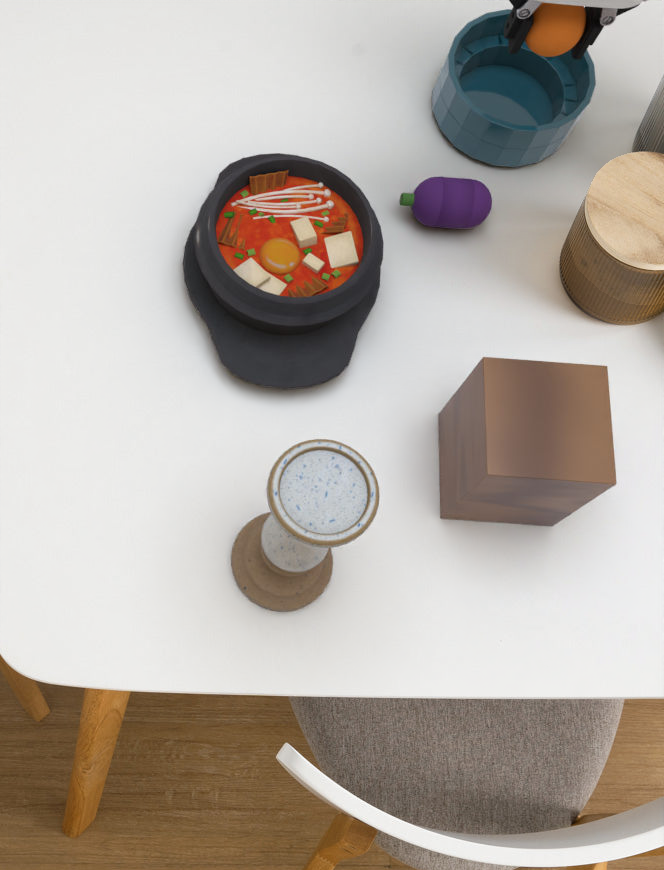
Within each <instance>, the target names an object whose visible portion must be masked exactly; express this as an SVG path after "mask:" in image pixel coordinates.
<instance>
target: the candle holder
mask: <svg viewBox="0 0 664 870" xmlns="http://www.w3.org/2000/svg"><path fill="white" fill-rule="evenodd" d="M266 500H267V505H268V509H269V511H268V512H265V513H262V514H260V515H258V516H256V517H254V518H253V519H251V520H249V521H248V522H247V523H246V524H245V525H244V526H243V527H242V528H241V530H240V531H239V532H238V534H237V536H236V537H235V540H234V542H233V545H232V549H231V553H230V565H231V573H232V575H233V578H234V581H235V582H236V584H237V586H238V588H239V590H240V591H241V592H242V593H243V595H245V597H247V598H248V599H249V600H250V601H252V602H253V603H254V604H256V605H258V606H260V607H262V608H264V609H266V610H269V611H276V612H293V611H297V610H300V609H302V608H305V607H307V606H309V605H311V604H312V603H313V602H315V601H316V600H317V599H318V598H320V596H321V595H322V594H323V593H324V592H325V590H326V589H327V587H328V585H329V582H330V581H331V577H332V574H333V569H334V557H333V551H332V548H337V547H338V548H339V547H341V546H345V545H347V544H350V543H351V542H354V541H356V540H357V539H358V538H360V537H361V536H362V535H363V534H364V533H366V531H367V530H368V529H369V527H370V526H371V525H372V523H373V522H374V520H375V517H376V515H377V513H378V509H379V505H380V486H379V482H378V479H377V476H376V474H375V471H374V469H373V468H372V466H371V464H370V463H369V462H368V461H367V460H366V458H365V457H364V456H363V455H362V454H360V453H359V452H358V451H357V450H356V449H355V448H352V447H351V446H349V445H348V444H345V443H343V442H340V441H338V440H332V439H326V438H315V439H309V440H304V441H301V442H299V443H297V444H295V445H292V446H291V447H289V448H288V449H287V450H285V451H284V452H283V453H282V454H281V455H280V456H279V457H278V458H277V459H276V461H275V462H274V463H273V465H272V468H271V469H270V471H269V474H268V477H267V482H266Z"/></svg>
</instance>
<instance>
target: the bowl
mask: <svg viewBox="0 0 664 870" xmlns="http://www.w3.org/2000/svg"><path fill="white" fill-rule="evenodd" d="M511 10H512V8H511V9H510V8H506V9H499V10H495V11H490V12H485V13H484V14H482V15H480V16H478V17H476V18H474V19H472V20H470V21H469V22H467V23H466V24H465V25H464V26H463V27H462V28H461V29H460V31H459V32H457V34H456V35H455V36H454V38H453V40H452V43H451V45H450V47H449V50H448V52H447V55H446V57H445V58H444V59H445V60H444V62H443V63H442V67H441V68H440V71H439V74H438V76H437V79H436V81H435V84H434V85H433V86H434V87H433V89H432V91H431V92H432V93H431V94H432V96H431V97H432V99H431V101H432V113H433V115H434V118H435V121H436V122H437V126H438V128H439V130H440V131H441V132H442V133H443V135H444V136H445V137H446V139H448V141H449V142H450V143H451V144H452V146H453V147H454V148H456V149H458V150H459V151H461V152H462V153H463V154H465V155H466V156H468V157H470V158H472V159H474V160H477V161H480V162H483V163H486V164H488V165H492V166H496V167H498V166H499V167H511V168H516V167H517V168H518V167H523V166H528V165H532V164H537V163H539V162H540V161H542V160H544V159H546V158H548V157H550V156H551V155H553V154H554V153H556V152H557V151H558V149H559V148H560V147H561V146H562V145H563V143H564V142H565V141H566V140H567V138H568V137H569V136H570V134H571V132H572V131H573V129H574V128H575V126H576V125H577V123H578V121H579V120H580V119H581V117H582V116H583V114H584V113H585V111H586V109H587V108H588V106H589V105H590V103H591V101H592V98H593V94H594V91H595V88H596V85H597V82H596V81H597V80H596V69H595V68H596V67H595V63H594V62H593V59H592V57H591V55H590V53H589V51H588V49H587V50H586V51H585V53H584V55H583V56H582V58H581V59H580V60H577V59H574V58H573V57H572V52H571V49H570V50H569V51H567V52H565V53H563V54H561V55H558V56H554V57H545V56H540V55H538V54H536V53H534V52H533V51H532V50H531V49H530V48H529V47H528V46H527V44H526V42H525V40H524V42H523V44H522V46H521V48H520V50H519V52H518V53H516V54H509V49H508V39H506V38H504V26H505V23H506V21H507V19H508V17H509V15H510V13H511Z"/></svg>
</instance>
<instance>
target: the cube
mask: <svg viewBox="0 0 664 870" xmlns="http://www.w3.org/2000/svg"><path fill="white" fill-rule="evenodd" d="M608 369H609V368H608V365H602V364H601V365H600V364H587V363H572V362H560V361H559V362H558V361H544V360H531V359H529V360H528V359H519V358H518V359H517V358H505V357H491V356H483V357H482V358H481V359H480V360H479V361H478V363H477V364H476V366H475V367H474V368H473V369H472V371H471V372H470V373H469V374H468V376H467V377H466V378H465V379H464V381H463V382H462V383H461V385H460V386H459V387H458V388H457V389H456V391H455V392H454V393H453V394H452V396H451V397H450V398H449V400H448V401H447V402H446V404H445V405H444V406H443V407H442V409H441V410H440V412H438V414H437V417H438V418H437V423H438V463H439V464H438V467H439V468H438V470H439V471H438V472H439V515H440V517H439V518H440V519H442V520H443V519H445V520H457V521H471V522H484V523H499V524H512V525H513V524H515V525H525V526H526V525H527V526H539V527H540V526H541V527H542V526H543V527H554V526H555V525H557V524H558V523H560V522H562V521H563V520H564V519H566V518H567V517H569V516H571V515H572V514H573V513H575V512H576V511H578V510H580V509H581V508H583V507H584V506H585V505H587V504H589V503H590V502H591V501H593V500H595V499H596V498H598V497H599V496H601V495H602V494H605V492H607V491H608V490H610V489H612V488H613V487H614V486H616V485H617V484H618V483H617V472H616V471H617V470H616V458H615V447H614V446H615V444H614V434H613V421H612V409H611V395H610V394H611V393H610V381H609V371H608Z"/></svg>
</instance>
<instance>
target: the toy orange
mask: <svg viewBox="0 0 664 870" xmlns="http://www.w3.org/2000/svg"><path fill="white" fill-rule="evenodd" d="M584 7H585V6H575V5H564V4H553V3H544V2H543V3H542V4H541V5H540V6H539V7H538V8H537V9H536V10H535V11H534V12H533V17H534V22H533V25H532V27H531V29H530V31H529V33H528V35H527V36H526V38H525V42H526V44H527V46H528V47H529V48H530V49H531V50H532V51H533V52H534V53H536V54H538V55H540V56H545V57H554V56H558V55H561V54H563V53H565V52H567V51H569V50H570V49H571V48H573V47H574V46H575V45H576V44H577V42H578V41H579V40H580V38H581V36H582V34H583V32H584V29H585V26H586V12H585V8H584Z"/></svg>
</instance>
